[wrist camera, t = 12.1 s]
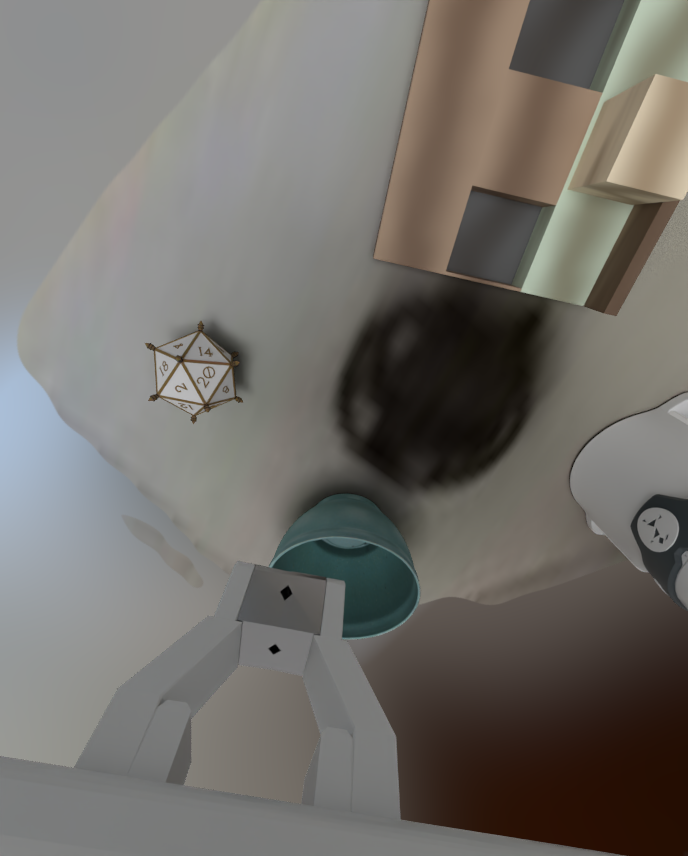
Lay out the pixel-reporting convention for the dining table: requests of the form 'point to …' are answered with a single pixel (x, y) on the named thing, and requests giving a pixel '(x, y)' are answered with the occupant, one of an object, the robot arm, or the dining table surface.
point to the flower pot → (355, 562)
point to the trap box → (525, 145)
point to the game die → (194, 373)
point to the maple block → (638, 145)
